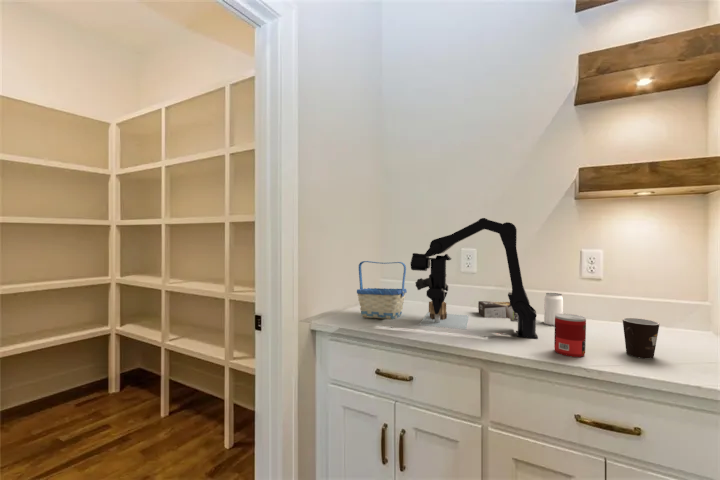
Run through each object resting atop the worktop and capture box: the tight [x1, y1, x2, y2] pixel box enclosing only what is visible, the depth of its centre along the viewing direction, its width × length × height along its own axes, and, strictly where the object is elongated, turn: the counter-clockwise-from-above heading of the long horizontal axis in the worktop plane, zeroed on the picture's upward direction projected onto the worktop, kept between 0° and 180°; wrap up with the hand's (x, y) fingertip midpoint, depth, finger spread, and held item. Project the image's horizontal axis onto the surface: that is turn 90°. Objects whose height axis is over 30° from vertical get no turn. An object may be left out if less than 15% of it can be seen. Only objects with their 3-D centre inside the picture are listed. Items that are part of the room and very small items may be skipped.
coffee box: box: [477, 300, 518, 322], centre depth 152 cm, size 9×6×16 cm
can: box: [543, 292, 564, 327], centre depth 143 cm, size 6×6×12 cm
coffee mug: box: [622, 317, 660, 359], centre depth 106 cm, size 12×9×10 cm
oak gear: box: [428, 300, 447, 315], centre depth 138 cm, size 6×6×4 cm
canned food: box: [553, 313, 587, 358], centre depth 107 cm, size 8×8×11 cm
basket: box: [356, 260, 407, 320], centre depth 151 cm, size 21×16×24 cm
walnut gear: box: [430, 311, 448, 320], centre depth 146 cm, size 7×7×3 cm
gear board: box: [418, 311, 469, 330], centre depth 143 cm, size 24×17×4 cm
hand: (437, 312), depth 138 cm, fingers closed on oak gear, 6 cm apart
